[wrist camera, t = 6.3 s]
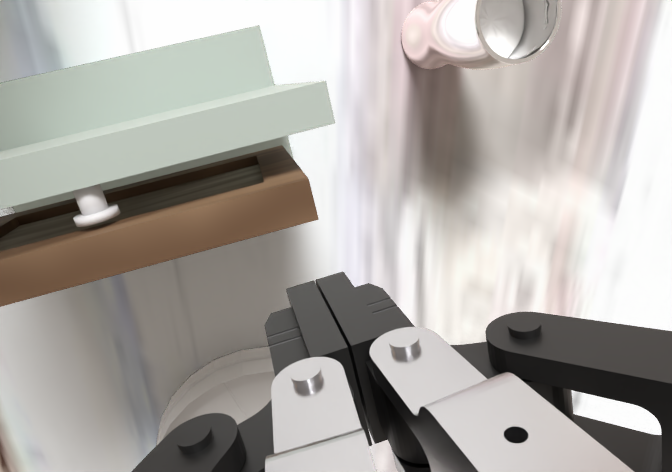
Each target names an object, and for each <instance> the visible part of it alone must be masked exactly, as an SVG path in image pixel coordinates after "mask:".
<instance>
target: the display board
mask: <svg viewBox="0 0 672 472" xmlns="http://www.w3.org/2000/svg"><path fill="white" fill-rule="evenodd" d="M334 123H335V120H334V116H333V111H332V107H331V102H330V98H329V93H328V89H327V84H326V81H318V82H306V83H295V84H283V85H274V81H273V77H272V73H271V69H270V65H269V61H268V57H267V54H266V50H265V46H264V42H263V38H262V34H261V30H260V26H254V27H250V28H245V29H241V30H236V31H232V32H227V33H223V34H218V35H214V36H209V37H205V38H200V39H196V40H191V41H187V42H182V43H178V44H173V45H169V46H164V47H160V48H155V49H151V50H146V51H142V52H137V53H133V54H128V55H124V56H119V57H115V58H110V59H106V60H101V61H97V62H92V63H87V64H83V65H78V66H74V67H69V68H65V69H60V70H56V71H51V72H47V73H42V74H38V75H33V76H29V77H24V78H20V79H15V80H11V81H6V82H2V83H0V209H4V208H8V207H13V209H14V211H15V213H18V212H22V211H26V210H29V209H33V208H37V207H41V206H45V205H49V204H53V203H57V202H61V201H65V200H69V199H73V198H75V199H76V201H77V204H78V206H79V209H80V211H81V213H80V214H78V215H76V216H75V217H74V218H73V219H74V221H75V224H76V226H77V227H85V226H90V225H94V224H97V223H100V222H103V221H106V220H109V219H111V218H114V217H116V216H117V215H119V214H120V210H119V207H118V205H117V204H110V205H108V204H107V201H106V199H105V196H104V194H103V191H104V190H108V189H112V188H116V187H120V186H124V185H128V184H131V183H135V182H139V181H143V180H147V179H151V178H155V177H159V176H163V175H167V174H171V173H175V172H179V171H182V170H186V169H190V168H194V167H198V166H202V165H206V164H210V163H214V162H218V161H222V160H226V159H230V158H233V157H237V156H241V155H245V154H249V153H253V152H257V151H261V150H265V149H269V148H273V147H277V146H281V145H283V147H284V148H285V149H286V151H287V152H288V153H289V154H290V156H291V157H292V158H293V156H292V152H291V148H290V144H289V140H288V136H287V135H291V134H295V133H299V132H303V131H307V130H311V129H315V128H319V127H322V126H326V125H330V124H334Z"/></svg>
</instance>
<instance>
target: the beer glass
mask: <svg viewBox="0 0 672 472" xmlns="http://www.w3.org/2000/svg"><path fill="white" fill-rule="evenodd" d="M561 13H562V2H561V0H439V1H427V2H424V3H421V4H419V5H417V6H416V7H415V8H414V9H413V10H412V11H411V12H410V13H409V14H408V16H407V17H406V19H405V21H404V24H403V27H402V33H401V40H402V46H403V49H404V52H405V54H406V55H407V57H408V58H409V59H410V61H411V62H413V63H414V64H415V65H417V66H419V67H421V68H424V69H437V68H440V67H442V66H445V65H446V64H451V65H454V66H458V67H461V68H466V69H472V70H489V69H497V68H502V67H507V66H511V65H515V64H522V63H526V62H529V61H531V60H533V59H535V58H536V57H538V56H539V55H541V54H542V53H543V52H544V51H545V50H546V49H547V48H548V46H549V45H550V44H551V42H552V41H553V39H554V37H555V35H556V33H557V30H558V28H559V24H560V20H561Z"/></svg>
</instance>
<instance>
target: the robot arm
mask: <svg viewBox="0 0 672 472" xmlns="http://www.w3.org/2000/svg"><path fill="white" fill-rule="evenodd" d="M316 285H317V286H316ZM286 290H287V294H288V298H289V301H290V305H291V307H290V308H287V309H284V310H281V311H277V312H274V313H271V315H270V317H269V318H268V320H267V322H266V324H265V329H266V334H267V338H268V344H269V349H270V354H271V359H272V364H273V369H274V374H275V379H274V380H273V382H272V385H271V398H272V399H271V400H270V401H269V402H268V404H267V405H266V406H265V407H264V408H263V409H261V410H260V411H259V412H258V413H256V414H255V415H253V416H252V417H250V418H248V419H246V420H245V421H243V422H241V423H240V424H238V425H237V423H236V421H235V420H234V419H233V418H232V417H231V416H229V415H227V414H223V413H209V414H204V415H200V416H197V417H194V418H192V419H190V420H188V421H186V422H184V423H182V424H181V425H179V426H177V427H176V428H175V429H173V430H172V431H171V432H170V433H169V434H168V435H167V436H166V437H165V438H164V439H163V440H162V441H161V442H160V443H159V444H158V445H157V446H156V447H155V448H154V449H153V450H152V451H151V452H150V453H149V454H148V455H147V456H146V457H145V458H144V459H143V460H142V462H141V463H140V464H139V465H138V466H137V467H136V468H135V469H134V470H133V471H132V472H377V470H376V467H375V464H374V461H373V457H372V454H371V451H370V448H369V446H371V445H372V442H371V438H370V434H369V431H370V433H371V436H372V438H373V440H374V442H375V444H376V443H379V442H382V441H385V440H387V439H388V441H389V443H390V445H391V447H392V452H393V456H394V460H395V465H396V469H397V471H398V472H672V331H665V330H658V329H651V328H644V327H637V326H630V325H623V324H616V323H608V322H601V321H594V320H587V319H580V318H573V317H566V316H558V315H551V314H544V313H537V312H517V313H511V314H507V315H504V316H501V317H499V318H497V319H495V320H494V321H492V322H491V323H490V324H489V325H488V327H487V328H486V340H487V342H481V343H473V344H465V345H449V344H448V343H447V342H446V341H444V340H443V339H442V338H441V337H440V336H439V335H438V334H437V333H435V332H434V331H432V330H429V329H426V328H421V327H415V326H414V325H413V324H412V323H411V322H410V320H409V319H408V318H407V317H406V316H405V315H404V313H403V312H402V311H401V310H400V309H399V307H397V305H396V304H395V303H394V301H393V300H392V299H390V297H389V295H388V294H387V293H386V292H385V291H384V289H383V288H380V287H377V286H374V285H372V284H369V283H368V284H365V285H361V286H358V287H354V286H353V285H352V283H351V282H350V280H349V279H348V277H347V276H346V275H345V273H344V272H340V273H337V274H333V275H330V276H327V277H324V278H320V279H317V280H316V284H315V282H314V281H311V282H307V283H304V284H301V285H297V286H294V287H291V288H287V289H286ZM571 390H574V391H578V392H582V393H587V394H591V395H595V396H600V397H604V398H609V399H613V400H617V401H622V402H626V403H630V404H634V405H638V406H640V407H643V408H644V409H646V410H648V411H649V412H651V413H652V414H653V415H654V416H655V417H656V418H657V419H658V421H659V423H660V425H661V429H662V435H652V434H648V433H644V432H640V431H636V430H632V429H628V428H625V427H621V426H617V425H613V424H609V423H605V422H601V421H597V420H594V419H590V418H586V417H582V416H578V415H574V414H573V406H572V393H571ZM368 429H369V430H368Z"/></svg>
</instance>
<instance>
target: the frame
mask: <svg viewBox="0 0 672 472" xmlns="http://www.w3.org/2000/svg"><path fill="white" fill-rule="evenodd" d="M103 194H104V196H105V199H106V201H107V204H108V205H110V204H117V205H118V207H119V210H120V214H119V215H117V216H116V217H114V218H111V219H109V220H106V221H103V222H100V223H97V224H94V225H90V226H85V227H77V226H76V224H75V221H74V219H73V218H74V217H75V216H76V215H78V214H80V213H81V211H80V209H79V206H78V204H77V201H76V199H75V198H73V199H69V200H65V201H61V202H57V203H53V204H49V205H45V206H41V207H37V208H33V209H29V210H26V211H22V212H18V213H14V214H10V215H6V216H2V217H0V307H1V306H5V305H8V304H12V303H15V302H19V301H23V300H26V299H30V298H34V297H37V296H41V295H45V294H48V293H52V292H56V291H59V290H63V289H67V288H70V287H74V286H77V285H81V284H85V283H88V282H92V281H96V280H99V279H103V278H107V277H110V276H114V275H118V274H121V273H125V272H128V271H132V270H136V269H139V268H143V267H147V266H150V265H154V264H158V263H161V262H165V261H169V260H172V259H176V258H180V257H183V256H187V255H190V254H194V253H198V252H201V251H205V250H209V249H212V248H216V247H220V246H223V245H227V244H231V243H234V242H238V241H242V240H245V239H249V238H252V237H256V236H260V235H263V234H267V233H271V232H274V231H278V230H282V229H285V228H289V227H293V226H296V225H300V224H303V223H307V222H311V221H314V220H318V215H317V211H316V207H315V203H314V199H313V195H312V191H311V187H310V183H309V179H308V178H307V176H306V175H305V174H304V173H303V171H302V170H301V169H300V167H299V166H298V165H297V164H296V162H295V161H294V160H293V158H292V157H291V156H290V154H289V153H288V152H287V151H286V149H285V148H284V147H283V145H281V146H277V147H273V148H269V149H265V150H261V151H257V152H253V153H249V154H245V155H241V156H237V157H233V158H230V159H226V160H222V161H218V162H214V163H210V164H206V165H202V166H198V167H194V168H190V169H186V170H182V171H179V172H175V173H171V174H167V175H163V176H159V177H155V178H151V179H147V180H143V181H139V182H135V183H131V184H128V185H124V186H120V187H116V188H112V189H108V190H104V191H103Z"/></svg>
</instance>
